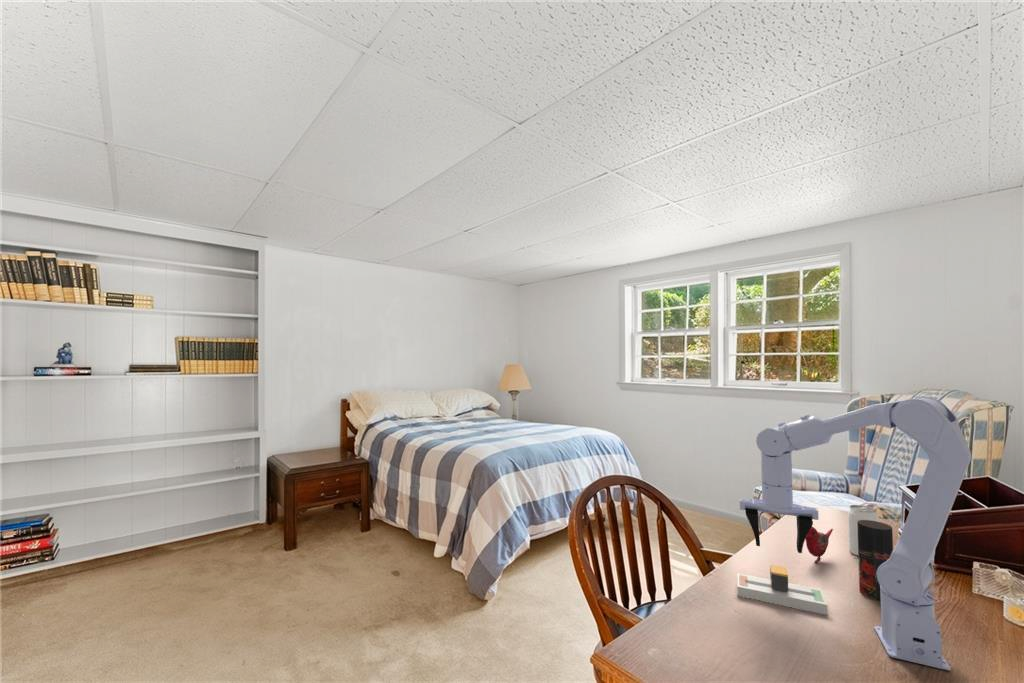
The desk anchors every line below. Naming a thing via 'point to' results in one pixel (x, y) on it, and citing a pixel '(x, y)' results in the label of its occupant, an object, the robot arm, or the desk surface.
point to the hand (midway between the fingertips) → (778, 547)
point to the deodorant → (872, 554)
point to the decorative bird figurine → (817, 542)
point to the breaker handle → (779, 578)
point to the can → (853, 516)
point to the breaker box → (782, 594)
